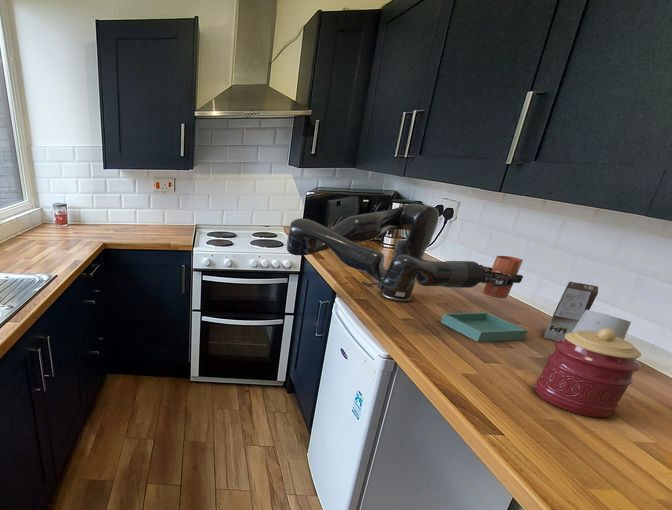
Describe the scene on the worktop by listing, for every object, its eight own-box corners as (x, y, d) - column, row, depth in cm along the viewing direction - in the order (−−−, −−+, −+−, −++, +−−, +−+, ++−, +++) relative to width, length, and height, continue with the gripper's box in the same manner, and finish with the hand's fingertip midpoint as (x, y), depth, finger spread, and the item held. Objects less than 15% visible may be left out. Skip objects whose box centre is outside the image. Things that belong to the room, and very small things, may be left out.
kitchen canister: (627, 413, 85) (673, 339, 78) (586, 423, 81) (631, 346, 74) (556, 381, 96) (591, 314, 89) (518, 388, 93) (551, 319, 86)
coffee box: (572, 345, 115) (599, 293, 108) (543, 337, 119) (567, 287, 113) (573, 336, 121) (599, 286, 114) (545, 329, 125) (568, 280, 118)
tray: (440, 322, 127) (443, 313, 126) (483, 320, 130) (486, 312, 128) (477, 341, 115) (481, 332, 114) (523, 339, 117) (527, 330, 116)
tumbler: (478, 292, 119) (492, 256, 114) (491, 290, 121) (505, 255, 116) (498, 299, 114) (514, 261, 110) (512, 297, 116) (527, 260, 111)
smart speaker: (615, 364, 105) (643, 315, 100) (600, 372, 101) (629, 321, 96) (569, 348, 113) (592, 302, 107) (554, 355, 109) (577, 307, 103)
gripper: (434, 278, 122) (486, 279, 123) (470, 295, 109) (528, 296, 110) (442, 254, 119) (495, 256, 120) (481, 269, 106) (539, 270, 107)
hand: (510, 275), depth 115 cm, fingers closed on tumbler, 6 cm apart
